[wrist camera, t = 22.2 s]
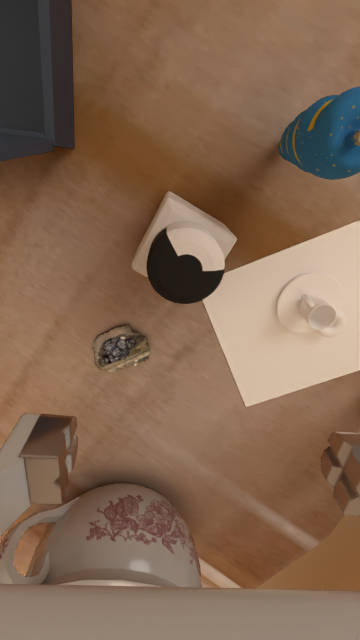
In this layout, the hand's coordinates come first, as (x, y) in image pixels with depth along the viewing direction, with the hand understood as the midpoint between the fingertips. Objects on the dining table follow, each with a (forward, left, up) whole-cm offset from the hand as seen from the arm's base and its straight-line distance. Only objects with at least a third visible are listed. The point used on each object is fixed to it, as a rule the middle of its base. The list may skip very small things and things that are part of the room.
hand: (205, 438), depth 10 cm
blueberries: (+14, -6, -28) cm, 32 cm away
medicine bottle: (-1, 0, -28) cm, 28 cm away
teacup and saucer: (+8, +16, -28) cm, 33 cm away
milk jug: (+46, -4, -28) cm, 54 cm away
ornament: (-11, +9, -28) cm, 31 cm away
